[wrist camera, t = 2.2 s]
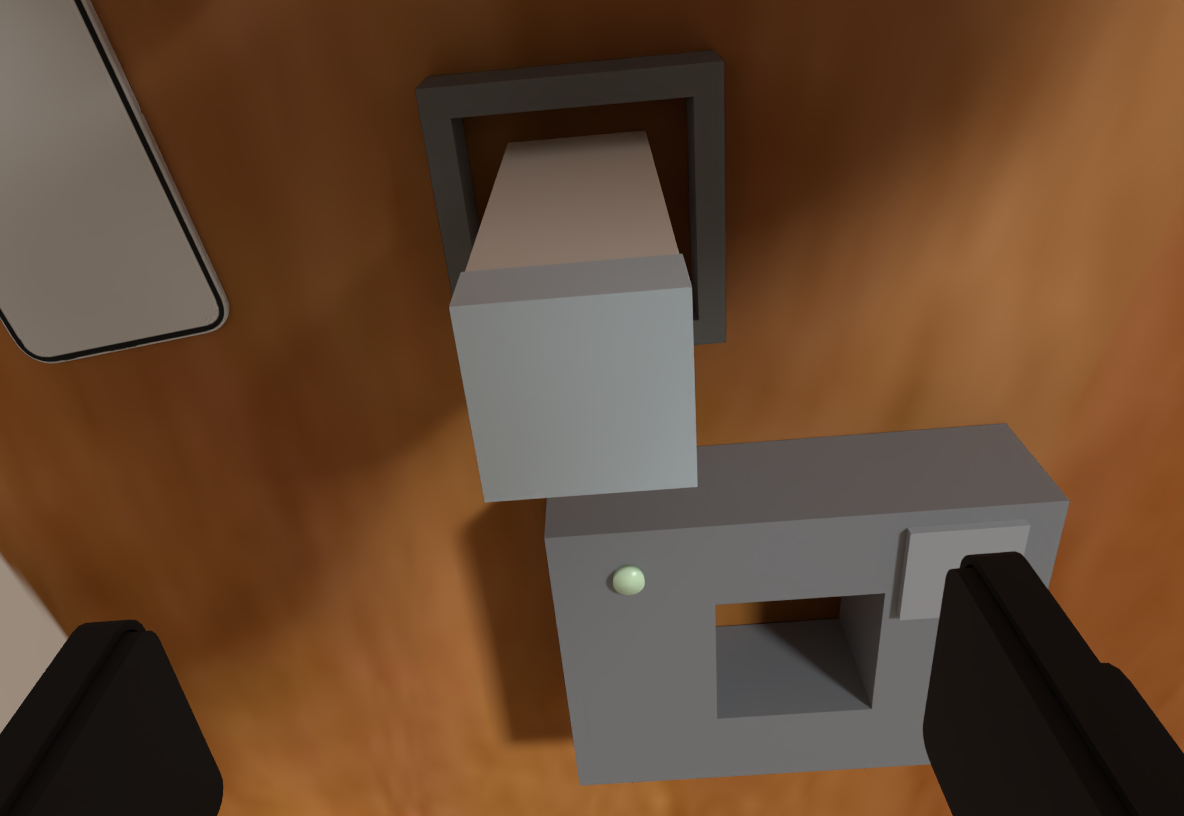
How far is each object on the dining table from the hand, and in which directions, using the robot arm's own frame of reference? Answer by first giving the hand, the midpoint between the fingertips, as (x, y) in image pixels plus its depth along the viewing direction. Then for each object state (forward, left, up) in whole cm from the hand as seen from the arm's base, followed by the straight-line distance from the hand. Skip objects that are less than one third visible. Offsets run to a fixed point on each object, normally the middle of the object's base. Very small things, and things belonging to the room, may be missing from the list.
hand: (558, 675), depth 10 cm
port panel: (-6, +15, -18) cm, 24 cm away
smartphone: (+16, -4, -19) cm, 25 cm away
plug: (0, 0, -18) cm, 18 cm away
